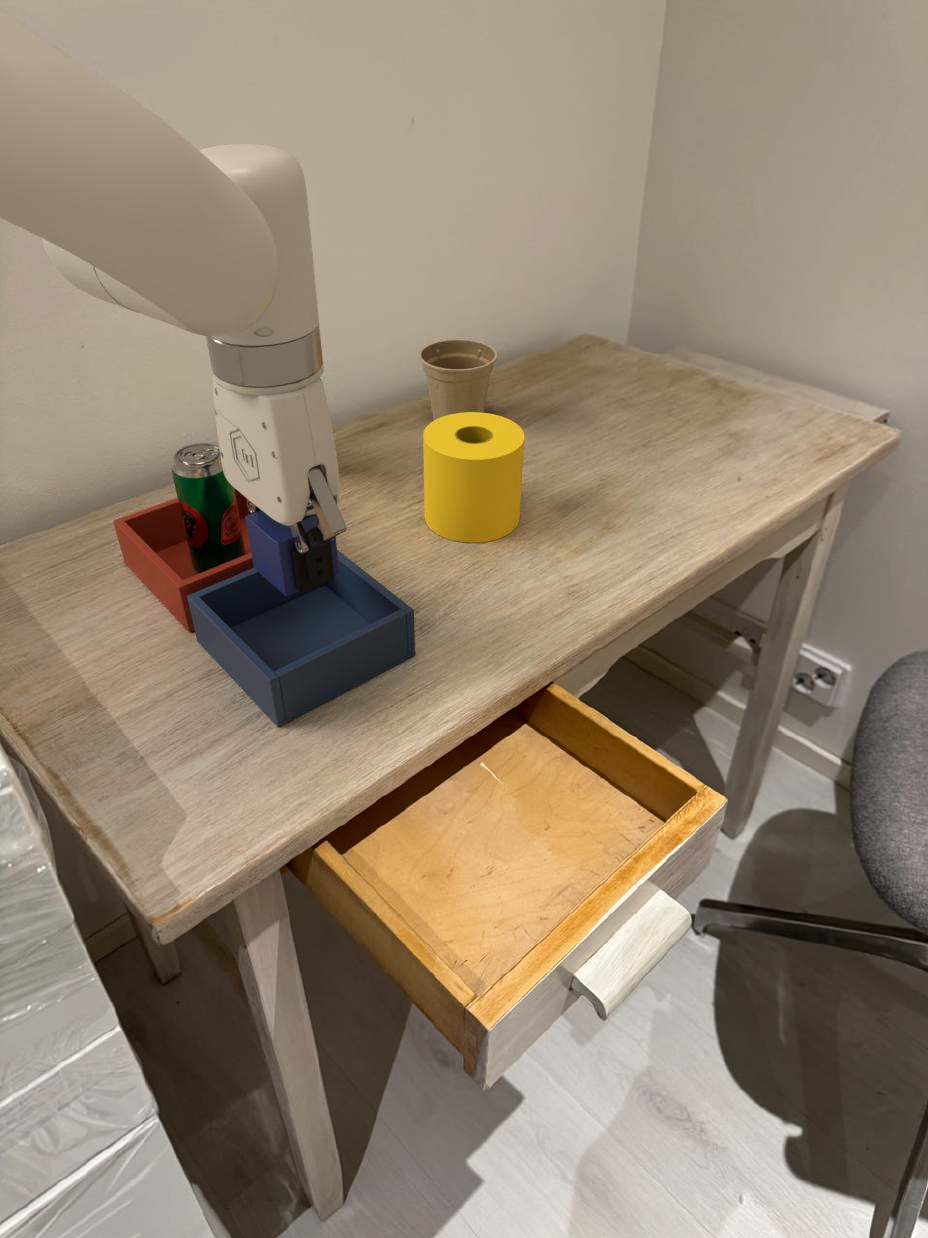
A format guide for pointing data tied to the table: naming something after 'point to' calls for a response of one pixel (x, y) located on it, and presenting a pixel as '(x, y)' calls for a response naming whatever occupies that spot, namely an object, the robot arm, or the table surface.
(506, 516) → the tape roll
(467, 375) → the flower pot
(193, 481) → the soda can
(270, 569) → the blue block
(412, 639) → the blue bin
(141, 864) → the table surface
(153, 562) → the red bin
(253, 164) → the robot arm
